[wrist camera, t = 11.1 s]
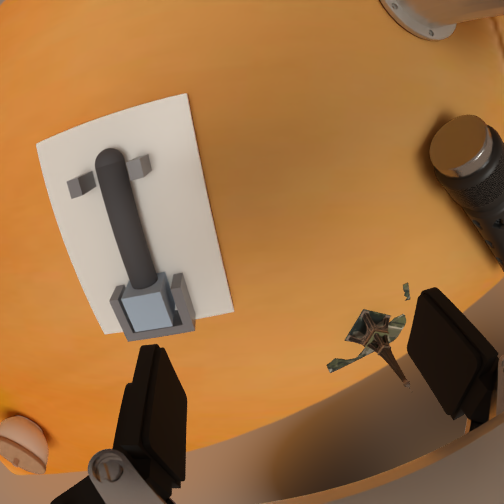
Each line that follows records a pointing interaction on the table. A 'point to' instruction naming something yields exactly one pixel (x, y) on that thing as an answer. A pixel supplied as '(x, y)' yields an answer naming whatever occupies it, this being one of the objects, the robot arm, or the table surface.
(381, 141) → the table surface
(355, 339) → the eiffel tower figurine
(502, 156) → the muzzle brake
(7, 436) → the lidded bowl
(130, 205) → the cable
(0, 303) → the table surface
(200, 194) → the cable board
